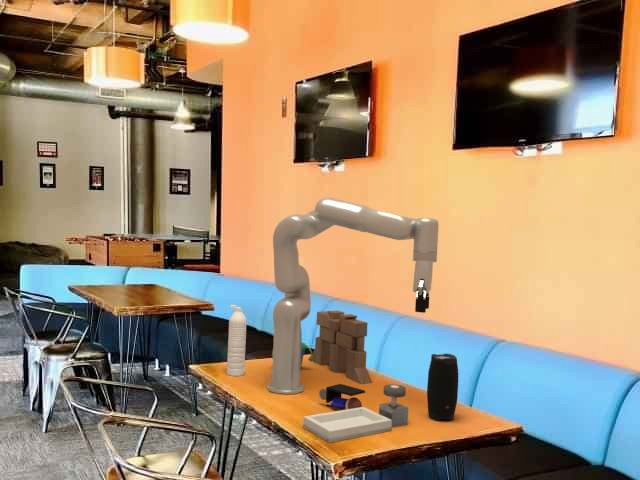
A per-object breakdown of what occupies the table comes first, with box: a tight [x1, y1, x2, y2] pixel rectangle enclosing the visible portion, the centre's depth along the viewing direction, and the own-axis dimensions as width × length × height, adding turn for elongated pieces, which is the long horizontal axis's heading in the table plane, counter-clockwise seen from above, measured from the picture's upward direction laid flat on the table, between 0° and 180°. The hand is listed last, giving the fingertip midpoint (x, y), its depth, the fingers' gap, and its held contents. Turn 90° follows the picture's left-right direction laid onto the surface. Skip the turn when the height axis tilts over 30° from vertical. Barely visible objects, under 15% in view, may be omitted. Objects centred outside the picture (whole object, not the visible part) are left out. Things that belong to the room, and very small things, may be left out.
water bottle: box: [226, 304, 247, 377], centre depth 223 cm, size 9×6×25 cm
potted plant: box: [271, 342, 313, 370], centre depth 233 cm, size 16×10×10 cm
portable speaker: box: [426, 353, 459, 422], centre depth 182 cm, size 8×9×19 cm
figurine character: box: [318, 383, 366, 410], centre depth 186 cm, size 7×8×15 cm
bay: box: [302, 406, 393, 444], centre depth 168 cm, size 13×21×3 cm, turn 123°
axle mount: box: [378, 401, 409, 428], centre depth 176 cm, size 6×6×5 cm
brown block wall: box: [308, 309, 373, 385], centre depth 235 cm, size 40×9×23 cm, turn 31°
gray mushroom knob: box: [382, 383, 407, 408], centre depth 176 cm, size 6×6×7 cm
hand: (422, 310), depth 192 cm, fingers open, 9 cm apart
